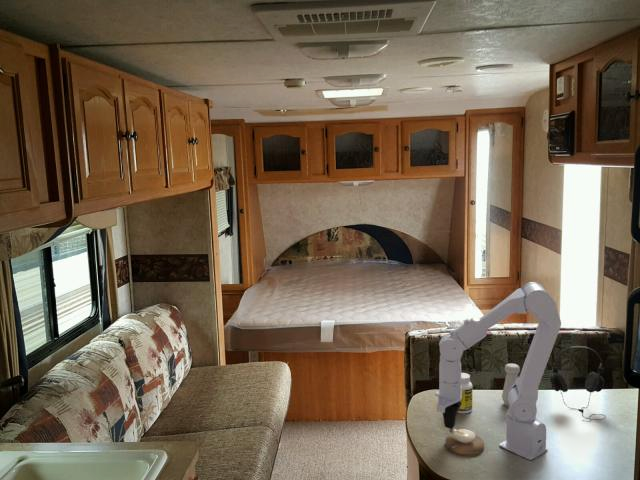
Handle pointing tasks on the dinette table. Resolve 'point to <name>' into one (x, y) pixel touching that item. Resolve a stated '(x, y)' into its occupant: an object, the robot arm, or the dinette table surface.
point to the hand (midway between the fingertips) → (449, 427)
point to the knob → (463, 435)
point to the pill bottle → (466, 394)
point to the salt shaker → (509, 380)
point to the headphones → (591, 383)
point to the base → (464, 446)
